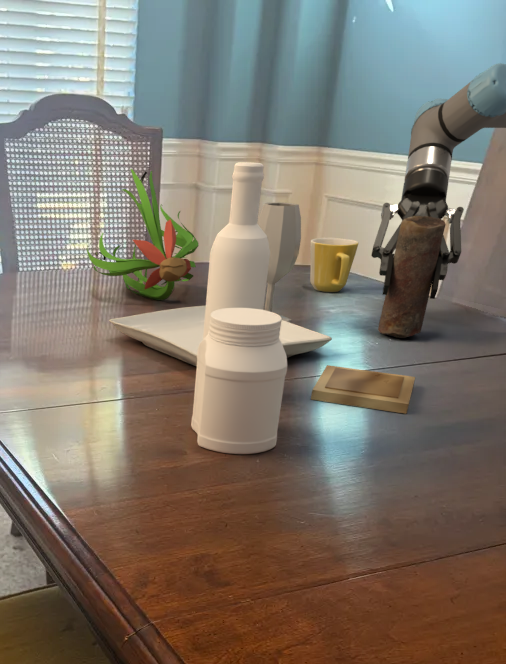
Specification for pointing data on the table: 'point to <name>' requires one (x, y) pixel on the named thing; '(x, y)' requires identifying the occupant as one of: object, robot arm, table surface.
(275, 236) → the wineglass
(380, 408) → the board
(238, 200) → the bottle
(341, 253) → the mug
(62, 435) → the table surface
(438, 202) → the robot arm
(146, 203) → the decorative plant
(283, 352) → the jar
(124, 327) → the square plate
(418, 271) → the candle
